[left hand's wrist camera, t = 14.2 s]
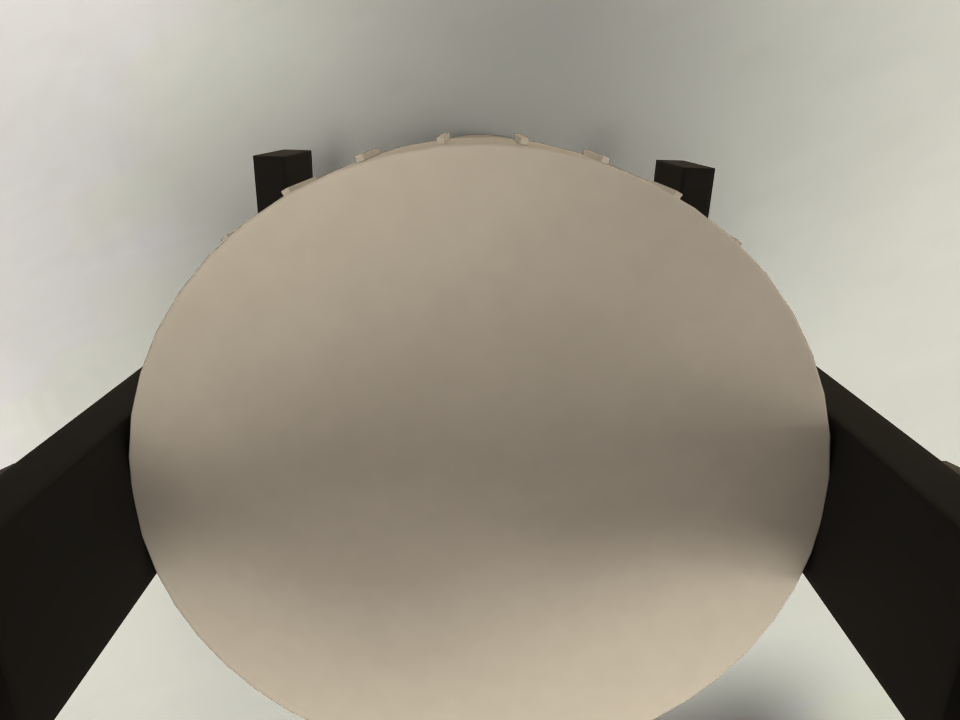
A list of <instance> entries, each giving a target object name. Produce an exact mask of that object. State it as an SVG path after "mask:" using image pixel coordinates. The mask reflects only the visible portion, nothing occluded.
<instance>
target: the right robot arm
mask: <svg viewBox="0 0 960 720" xmlns="http://www.w3.org/2000/svg"><path fill="white" fill-rule="evenodd" d="M253 160H254V172H255V183H256V195H257V207H258V213H260V212H261V211H262V210H264V209H265V208H267V207H268V206H270V205H271V204H273V203H274V202H276V201H277V200H279V199H280V198H282V197H283V194H282V193H281V191H283V190H284V189H286V188H288V187H290V186H293V185H295V184H298V183H300V182H303V181H305V180H308V179H310V178H313V173H312V155H311V150H280V151H275V152H270V153H265V154H260V155H255V156H253ZM714 173H715V168H711V167H707V166H703V165H699V164H695V163H691V162H686V161H675V160H656V167H655V176H654V182H657V183H659V184H662V185H664V186H667V187H669V188H671V189H674V190H676V191H678V192H680V193H681V194H682V196H681V198H680V200H682V201H684V202H685V203H687V204H689V205H691V206H692V207H694V208H695V209H697V210H698V211H699V212H700V213H702V214H703V215H704V216H705V217H707V218H708V215H709V208H710V201H711V194H712V187H713V180H714Z"/></svg>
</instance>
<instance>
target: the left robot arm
mask: <svg viewBox="0 0 960 720" xmlns="http://www.w3.org/2000/svg"><path fill="white" fill-rule="evenodd" d="M816 367H817V366H816ZM141 370H142V367H141V368H140V369H139V370H138V371H136V372H135V373H134V374H132V375H131V376H130V377H128V378H127V379H126V380H124V381H123V382H122V383H120V384H119V385H118V386H116V387H115V388H114V389H113V390H111V391H110V392H109V393H107V394H106V395H105V396H103V397H102V398H101V399H99V400H98V401H97V402H95V403H94V404H93V405H91V406H90V407H89V408H88V409H86V410H85V411H84V412H82V413H81V414H80V415H78V416H77V417H76V418H74V419H73V420H72V421H70V422H69V423H68V424H66V425H65V426H64V427H63V428H61V429H60V430H59V431H57V432H56V433H55V434H53V435H52V436H51V437H49V438H48V439H47V440H45V441H44V442H43V443H41V444H40V445H39V446H38V447H36V448H35V449H34V450H32V451H31V452H30V453H28V454H27V455H26V456H24V457H23V458H22V459H20V460H19V461H18V462H16V463H15V464H12V465H10V466H8V467H5V468H3V469H1V470H0V720H54V719H55V718H56V716H57V715H58V714H59V712H60V711H61V709H62V708H63V706H64V705H65V704H66V702H67V701H68V699H69V698H70V696H71V695H72V694H73V692H74V691H75V689H76V688H77V686H78V685H79V684H80V682H81V681H82V679H83V678H84V676H85V675H86V674H87V672H88V671H89V669H90V668H91V666H92V665H93V664H94V662H95V661H96V659H97V658H98V656H99V655H100V653H101V652H102V651H103V649H104V648H105V646H106V645H107V643H108V642H109V641H110V639H111V638H112V636H113V635H114V633H115V632H116V631H117V629H118V628H119V626H120V625H121V623H122V622H123V621H124V619H125V618H126V616H127V615H128V613H129V612H130V611H131V609H132V608H133V606H134V605H135V603H136V602H137V600H138V599H139V598H140V596H141V595H142V593H143V592H144V590H145V589H146V588H147V586H148V585H149V583H150V582H151V580H152V579H153V578H154V576H155V575H156V573H157V572H156V570H155V567H154V565H153V562H152V560H151V557H150V555H149V552H148V550H147V547H146V545H145V542H144V540H143V537H142V534H141V529H140V524H139V520H138V515H137V510H136V506H135V501H134V496H133V490H132V485H131V476H130V465H129V444H130V427H131V414H132V409H133V404H134V400H135V395H136V391H137V386H138V381H139V377H140V372H141ZM817 371H818V374H819V377H820V381H821V384H822V387H823V391H824V395H825V402H826V409H827V416H828V424H829V431H830V477H829V483H828V488H827V493H826V498H825V503H824V508H823V514H822V518H821V523H820V527H819V531H818V534H817V537H816V540H815V543H814V546H813V549H812V552H811V555H810V557H809V559H808V561H807V563H806V565H805V568H804V570H803V574H804V575H805V577H806V578H807V580H808V581H809V582H810V584H811V585H812V587H813V588H814V590H815V591H816V592H817V594H818V595H819V597H820V598H821V600H822V601H823V603H824V604H825V605H826V607H827V608H828V610H829V611H830V613H831V614H832V615H833V617H834V618H835V620H836V621H837V623H838V624H839V625H840V627H841V628H842V630H843V631H844V633H845V634H846V635H847V637H848V638H849V640H850V641H851V643H852V644H853V645H854V647H855V648H856V650H857V651H858V653H859V654H860V655H861V657H862V658H863V660H864V661H865V663H866V664H867V666H868V667H869V668H870V670H871V671H872V673H873V674H874V676H875V677H876V678H877V680H878V681H879V683H880V684H881V686H882V687H883V688H884V690H885V691H886V693H887V694H888V696H889V697H890V698H891V700H892V701H893V703H894V704H895V706H896V707H897V708H898V710H899V711H900V713H901V714H902V716H903V717H904V719H905V720H960V467H958V466H956V465H954V464H951V463H949V462H947V461H940V460H939V459H938V458H937V457H935V456H934V455H933V454H931V453H930V452H929V451H927V450H926V449H925V448H923V447H922V446H921V445H919V444H918V443H917V442H915V441H914V440H913V439H912V438H910V437H909V436H908V435H906V434H905V433H904V432H902V431H901V430H900V429H898V428H897V427H896V426H894V425H893V424H892V423H890V422H889V421H888V420H887V419H885V418H884V417H883V416H881V415H880V414H879V413H877V412H876V411H875V410H873V409H872V408H871V407H869V406H868V405H867V404H865V403H864V402H863V401H862V400H860V399H859V398H858V397H856V396H855V395H854V394H852V393H851V392H850V391H848V390H847V389H846V388H844V387H843V386H842V385H840V384H839V383H838V382H837V381H835V380H834V379H833V378H831V377H830V376H829V375H827V374H826V373H825V372H823V371H822V370H821V369H819V368H818V367H817Z"/></svg>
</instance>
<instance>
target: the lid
mask: <svg viewBox="0 0 960 720" xmlns="http://www.w3.org/2000/svg"><path fill="white" fill-rule="evenodd" d="M355 160H356V162H355V163H352V164H350V165H348V166H345V167H343V168H340V169H338V170H335V171H333V172H331V173H329V174H327V175H325V176H323V177H321V178H319V179H317V178H316V177H313V178H310V179H308V180H305V181H303V182H300V183H298V184H295V185H293V186H290V187H288V188H286V189H284V190H283V191H281V193H282V194H283V197H282V198H280V199H279V200H277V201H276V202H274V203H273V204H271V205H270V206H268V207H267V208H265V209H264V210H262V211H261V212H260V213H258V214H257V215H255V216H254V217H252V218H251V219H249V220H248V221H246V222H245V223H244V224H243V225H242V226H240V227H239V228H238V229H237V230H236V231H234V232H232V233H230V234H228V235H226V236H225V237H224V238H223V239H222V240H221V241H222V242H223V243H222V244H221V245H220V246H219V247H218V248H216V249H215V250H214V251H213V252H212V253H211V254H210V255H209V256H208V257H207V258H206V260H205V261H204V262H203V263H202V265H201V266H200V267H199V268H198V270H197V271H196V272H195V273H194V274H193V276H192V277H191V278H190V279H189V281H188V282H187V283H186V284H185V286H184V287H183V288H182V289H181V291H180V292H179V293H178V295H177V297H176V299H175V300H174V302H173V304H172V305H171V307H170V309H169V311H168V312H167V314H166V316H165V318H164V319H163V321H162V323H161V324H160V326H159V328H158V330H157V331H156V334H155V336H154V339H153V342H152V344H151V347H150V349H149V352H148V354H147V357H146V360H145V362H144V365H143V367H142V370H141V372H140V377H139V381H138V386H137V391H136V395H135V400H134V404H133V409H132V414H131V427H130V444H129V465H130V476H131V485H132V490H133V496H134V501H135V506H136V510H137V515H138V520H139V524H140V529H141V534H142V537H143V540H144V542H145V545H146V547H147V550H148V552H149V555H150V557H151V560H152V562H153V565H154V567H155V570H156V572H157V574H158V576H159V578H160V579H161V581H162V583H163V585H164V586H165V588H166V590H167V592H168V593H169V595H170V597H171V599H172V601H173V602H174V604H175V606H176V607H177V608H178V610H179V611H180V612H181V614H182V615H183V616H184V618H185V619H186V620H187V622H188V623H189V624H190V626H191V627H192V628H193V630H194V631H195V632H196V634H197V635H198V636H199V637H200V639H201V640H202V641H203V642H204V643H205V644H206V645H207V646H208V647H209V648H210V649H211V650H212V651H213V652H214V653H215V654H216V655H217V656H218V657H219V658H220V659H221V660H222V661H223V662H224V663H225V664H226V665H227V666H228V667H229V668H230V669H232V670H233V671H234V672H235V673H237V674H238V675H239V676H240V677H241V678H243V679H244V680H245V681H246V682H247V683H249V684H250V685H251V686H252V687H254V688H255V689H256V690H258V691H259V692H261V693H262V694H264V695H266V696H267V697H269V698H270V699H272V700H273V701H275V702H276V703H278V704H279V705H281V706H282V707H284V708H285V709H287V710H289V711H291V712H293V713H295V714H297V715H299V716H301V717H303V718H305V719H307V720H654V719H656V718H658V717H659V716H661V715H663V714H665V713H666V712H668V711H670V710H671V709H673V708H675V707H677V706H678V705H680V704H682V703H684V702H685V701H687V700H689V699H690V698H692V697H693V696H694V695H696V694H697V693H698V692H700V691H701V690H702V689H704V688H705V687H707V686H708V685H709V684H711V683H712V682H713V681H715V680H716V679H718V678H719V677H720V676H721V675H722V674H723V673H724V672H726V671H727V670H728V669H729V668H730V667H731V666H732V665H733V664H734V663H735V662H736V661H737V660H739V659H740V658H741V657H742V656H743V655H744V654H745V653H746V652H747V651H748V650H749V649H750V648H751V647H752V645H753V644H754V643H755V642H756V641H757V640H758V638H759V637H760V636H761V635H762V634H763V633H764V631H765V630H766V629H767V628H768V627H769V626H770V624H771V623H772V622H773V621H774V619H775V618H776V616H777V615H778V613H779V611H780V610H781V608H782V607H783V605H784V604H785V602H786V601H787V599H788V598H789V596H790V595H791V593H792V592H793V590H794V588H795V586H796V584H797V582H798V580H799V578H800V576H801V574H802V572H803V570H804V568H805V565H806V563H807V561H808V559H809V557H810V555H811V552H812V549H813V546H814V543H815V540H816V537H817V534H818V531H819V527H820V523H821V518H822V514H823V508H824V503H825V498H826V493H827V488H828V483H829V477H830V431H829V424H828V416H827V409H826V402H825V395H824V391H823V387H822V384H821V381H820V377H819V374H818V371H817V367H816V364H815V361H814V357H813V354H812V351H811V349H810V347H809V345H808V343H807V341H806V339H805V337H804V335H803V333H802V331H801V328H800V326H799V324H798V322H797V320H796V318H795V316H794V314H793V312H792V310H791V309H790V307H789V306H788V305H787V303H786V302H785V300H784V299H783V297H782V296H781V294H780V293H779V291H778V290H777V289H776V287H775V286H774V284H773V283H772V281H771V280H770V278H769V277H768V275H767V274H766V273H765V272H764V271H763V270H762V269H761V268H760V266H759V265H758V264H757V263H756V262H755V261H754V260H753V259H752V258H751V257H750V256H749V255H748V254H747V253H746V251H745V250H744V249H743V248H742V247H741V245H742V243H741V242H740V241H739V240H738V239H736V238H734V237H732V236H730V235H728V234H727V233H726V232H724V231H723V230H722V229H721V228H719V227H718V226H717V225H716V224H714V223H713V222H712V221H711V220H709V219H708V218H707V217H705V216H704V215H703V214H702V213H700V212H699V211H698V210H697V209H695V208H694V207H692V206H691V205H689V204H687V203H685V202H684V201H682V200H680V198H681V196H682V194H681V193H680V192H678V191H676V190H674V189H671V188H669V187H667V186H664V185H662V184H659V183H657V182H654V181H652V180H649V179H648V180H647V181H646V180H644V179H642V178H639V177H637V176H634V175H632V174H630V173H627V172H625V171H623V170H620V169H618V168H615V167H613V166H610V165H608V163H609V161H610V158H608V157H606V156H603V155H600V154H597V153H595V152H592V151H589V150H586V149H585V150H584V153H583V154H580V153H578V152H574V151H570V150H566V149H562V148H558V147H554V146H550V145H546V144H542V143H538V142H532V141H529V138H527V137H525V136H523V135H522V134H515V136H514V140H513V139H503V138H494V137H483V138H453V139H450V134H449V133H444V134H442V135H440V136H438V137H437V138H436V141H431V142H425V143H419V144H413V145H408V146H403V147H399V148H396V149H393V150H390V151H387V152H384V153H381V151H380V149H379V148H376V149H373V150H370V151H368V152H365V153H362V154H359V155H357V156H355Z"/></svg>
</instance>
